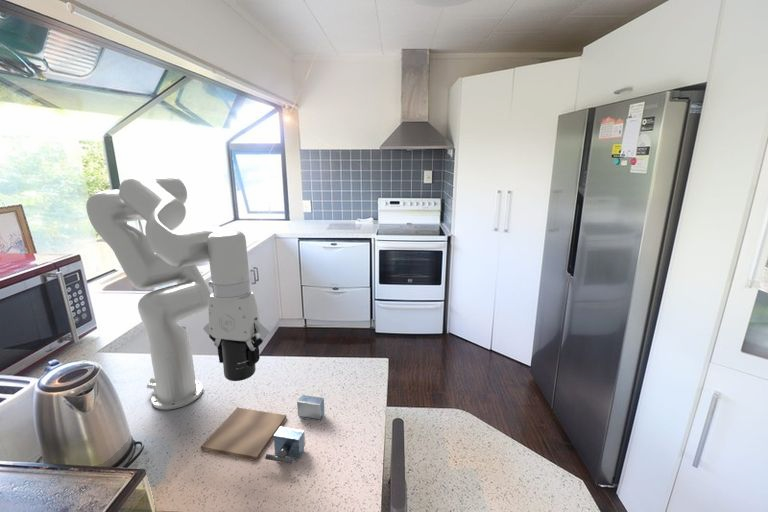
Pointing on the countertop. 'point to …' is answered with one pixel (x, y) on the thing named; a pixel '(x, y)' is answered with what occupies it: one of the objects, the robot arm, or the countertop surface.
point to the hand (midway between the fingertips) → (239, 361)
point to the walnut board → (244, 433)
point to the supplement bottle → (236, 360)
